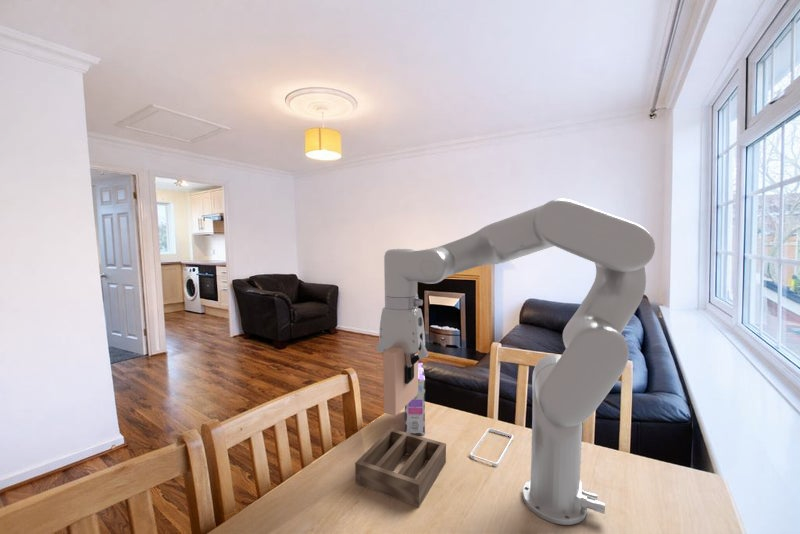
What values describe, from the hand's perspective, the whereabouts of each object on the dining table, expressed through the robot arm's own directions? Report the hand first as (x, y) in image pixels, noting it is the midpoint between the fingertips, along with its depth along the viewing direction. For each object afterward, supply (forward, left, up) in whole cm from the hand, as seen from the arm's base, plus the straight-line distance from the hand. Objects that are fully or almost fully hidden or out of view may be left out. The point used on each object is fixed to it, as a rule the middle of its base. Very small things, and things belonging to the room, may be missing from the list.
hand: (401, 379), depth 84 cm
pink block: (0, 0, -6) cm, 6 cm away
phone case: (-17, -20, -24) cm, 36 cm away
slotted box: (0, 0, -23) cm, 23 cm away
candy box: (+7, -22, -23) cm, 33 cm away
